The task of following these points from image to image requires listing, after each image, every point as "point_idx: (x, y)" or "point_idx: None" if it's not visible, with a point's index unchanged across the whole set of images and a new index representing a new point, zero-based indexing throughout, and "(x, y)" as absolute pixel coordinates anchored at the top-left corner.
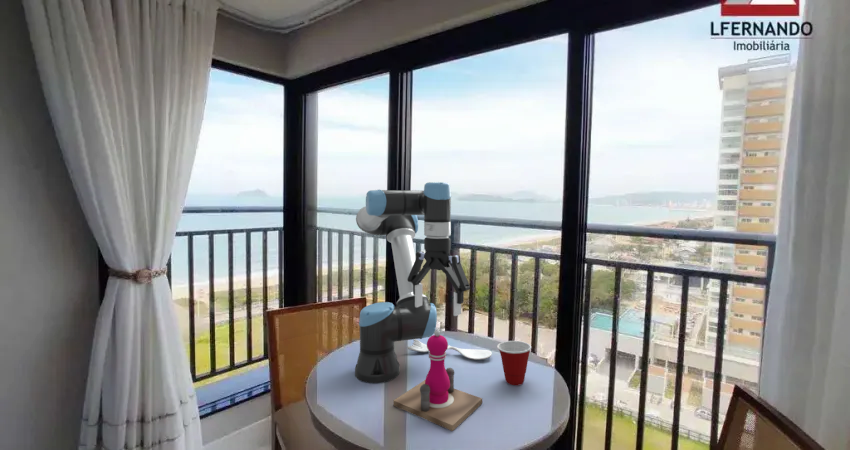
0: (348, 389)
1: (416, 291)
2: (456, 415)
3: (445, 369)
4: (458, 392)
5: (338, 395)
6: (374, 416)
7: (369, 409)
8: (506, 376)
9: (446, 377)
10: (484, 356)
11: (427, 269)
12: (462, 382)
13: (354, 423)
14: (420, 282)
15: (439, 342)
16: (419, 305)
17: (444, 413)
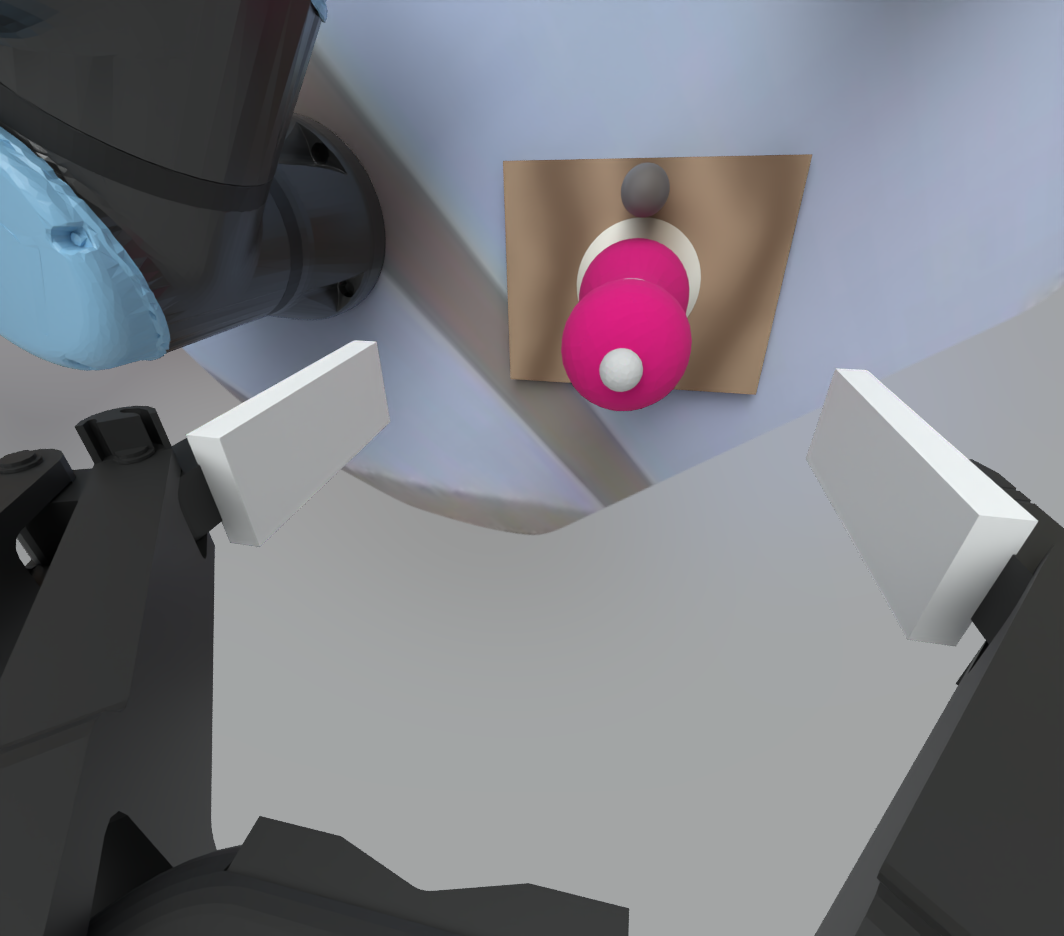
0: None
1: (302, 503)
2: (746, 338)
3: (660, 278)
4: (688, 178)
5: None
6: (510, 442)
7: (474, 424)
8: None
9: (680, 303)
10: None
11: (183, 803)
12: (645, 16)
13: (493, 487)
14: (160, 431)
15: (661, 394)
16: (380, 391)
17: (702, 351)
